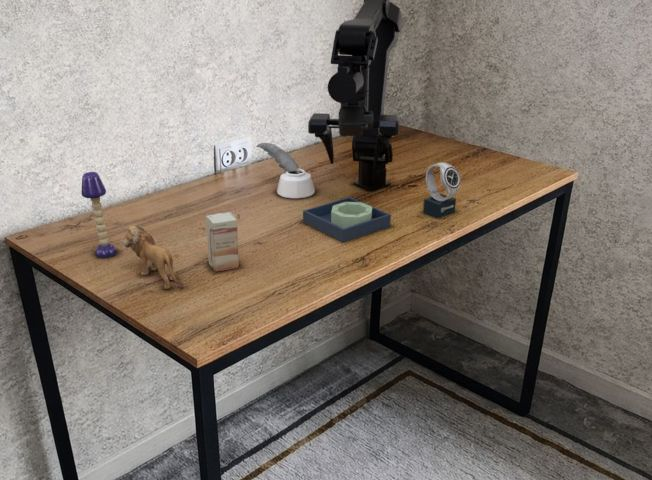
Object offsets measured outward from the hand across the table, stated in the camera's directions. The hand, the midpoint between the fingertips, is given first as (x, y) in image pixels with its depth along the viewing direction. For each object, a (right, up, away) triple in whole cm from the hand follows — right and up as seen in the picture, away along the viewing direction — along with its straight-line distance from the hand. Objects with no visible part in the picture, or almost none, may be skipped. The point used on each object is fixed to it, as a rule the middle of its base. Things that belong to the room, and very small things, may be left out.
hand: (353, 164), depth 166 cm
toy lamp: (-51, -21, -10) cm, 56 cm away
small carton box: (-26, -24, -16) cm, 39 cm away
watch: (+20, -10, +6) cm, 22 cm away
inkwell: (-16, -1, +20) cm, 26 cm away
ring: (0, -13, 0) cm, 13 cm away
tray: (-2, -13, +1) cm, 13 cm away
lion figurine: (-39, -26, -20) cm, 51 cm away
